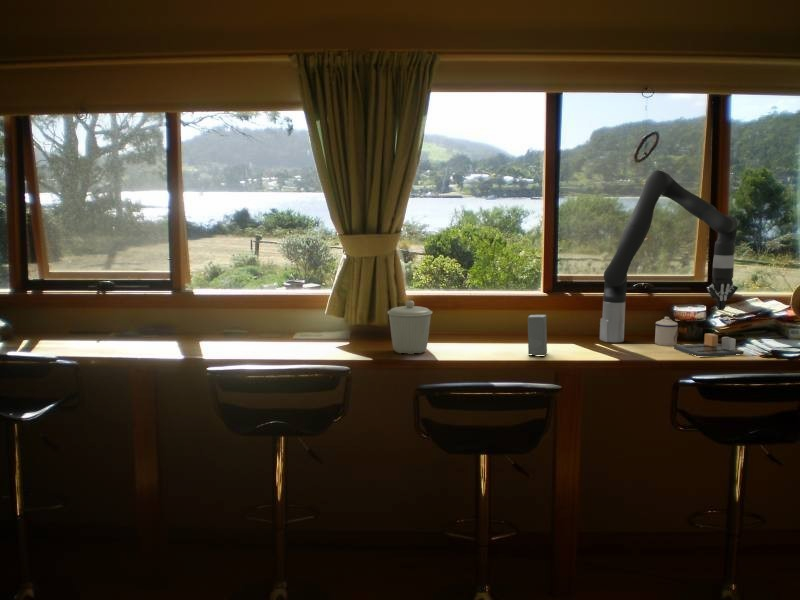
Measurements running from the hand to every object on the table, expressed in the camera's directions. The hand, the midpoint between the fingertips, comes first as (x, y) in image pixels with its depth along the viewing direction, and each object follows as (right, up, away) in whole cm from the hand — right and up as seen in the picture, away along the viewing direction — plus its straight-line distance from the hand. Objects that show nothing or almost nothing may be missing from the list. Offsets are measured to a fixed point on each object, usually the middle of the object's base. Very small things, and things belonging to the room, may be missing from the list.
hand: (720, 309), depth 279 cm
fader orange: (-1, -15, +8) cm, 16 cm away
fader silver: (+3, -16, 0) cm, 16 cm away
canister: (-124, -17, +4) cm, 125 cm away
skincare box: (-73, -18, -1) cm, 76 cm away
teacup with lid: (-15, -15, +20) cm, 29 cm away
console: (-4, -17, +3) cm, 18 cm away
